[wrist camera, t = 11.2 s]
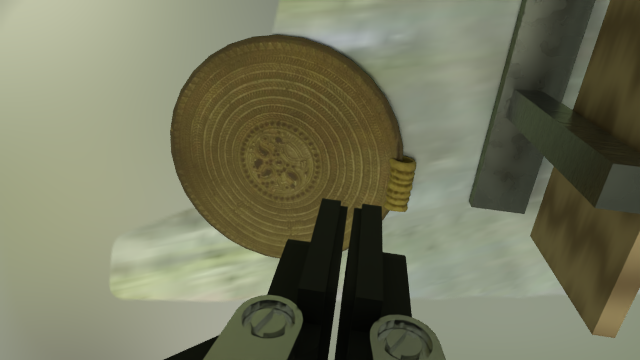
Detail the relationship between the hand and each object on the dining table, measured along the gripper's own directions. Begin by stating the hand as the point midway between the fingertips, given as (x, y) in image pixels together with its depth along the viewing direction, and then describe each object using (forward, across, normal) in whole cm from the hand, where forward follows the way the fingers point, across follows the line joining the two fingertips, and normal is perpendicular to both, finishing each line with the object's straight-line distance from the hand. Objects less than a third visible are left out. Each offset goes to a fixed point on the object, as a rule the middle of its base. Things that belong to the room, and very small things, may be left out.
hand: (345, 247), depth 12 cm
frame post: (+37, -17, +3) cm, 41 cm away
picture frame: (+30, -20, +3) cm, 36 cm away
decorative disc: (+38, +8, +13) cm, 41 cm away
